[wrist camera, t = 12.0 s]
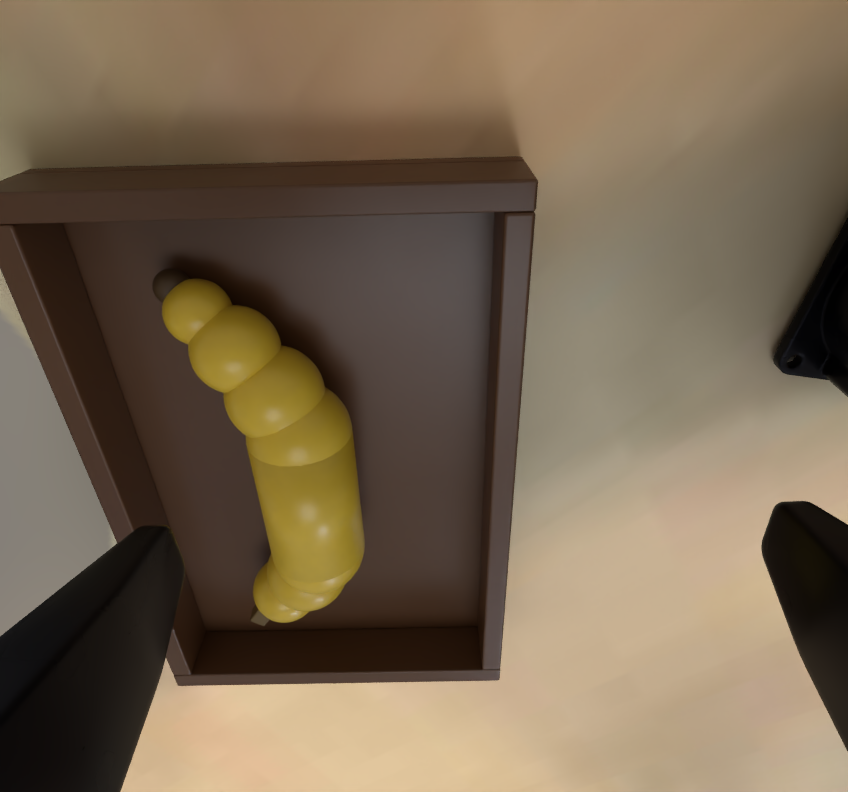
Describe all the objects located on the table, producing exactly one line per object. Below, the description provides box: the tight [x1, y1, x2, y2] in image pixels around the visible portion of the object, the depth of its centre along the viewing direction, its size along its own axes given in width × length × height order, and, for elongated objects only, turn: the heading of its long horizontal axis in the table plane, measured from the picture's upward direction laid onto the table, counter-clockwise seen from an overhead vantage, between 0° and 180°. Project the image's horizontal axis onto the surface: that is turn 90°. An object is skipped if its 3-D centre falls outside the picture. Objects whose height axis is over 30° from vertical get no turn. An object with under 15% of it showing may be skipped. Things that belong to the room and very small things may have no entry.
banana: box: [152, 268, 365, 626], centre depth 21 cm, size 15×6×3 cm, turn 1°
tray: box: [0, 157, 538, 686], centre depth 22 cm, size 21×14×3 cm
